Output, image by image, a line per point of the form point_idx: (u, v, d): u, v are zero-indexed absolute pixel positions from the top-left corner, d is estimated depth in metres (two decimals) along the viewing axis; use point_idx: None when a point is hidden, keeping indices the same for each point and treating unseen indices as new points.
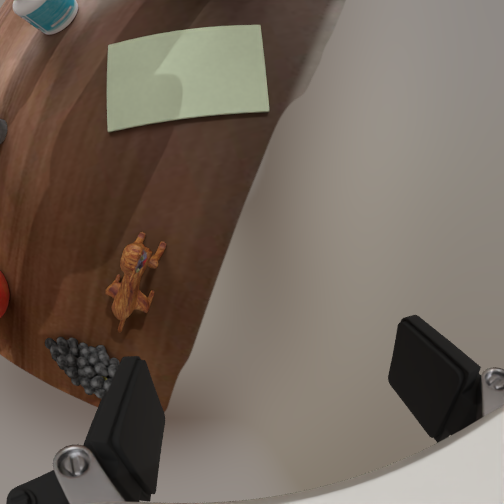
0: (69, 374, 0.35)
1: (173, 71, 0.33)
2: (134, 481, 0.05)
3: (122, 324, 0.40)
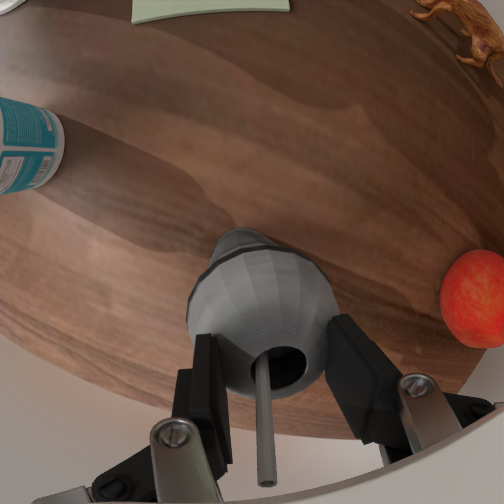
0: None
1: None
2: (220, 450, 0.07)
3: (497, 77, 0.21)
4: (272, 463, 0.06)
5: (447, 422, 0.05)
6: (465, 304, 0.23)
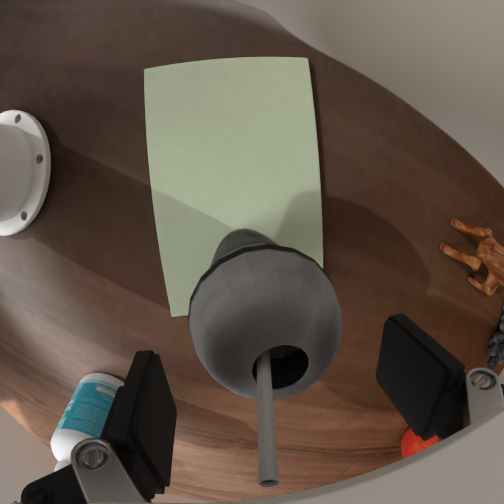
0: None
1: (237, 200, 0.23)
2: (149, 473, 0.06)
3: None
4: (273, 462, 0.06)
5: None
6: None
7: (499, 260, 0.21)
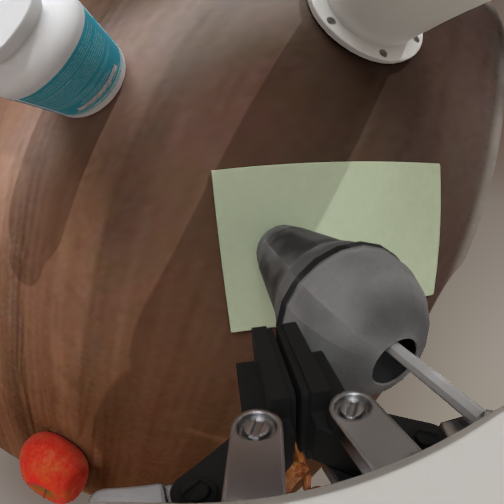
0: None
1: None
2: None
3: None
4: (470, 409, 0.05)
5: (397, 440, 0.05)
6: (38, 453, 0.23)
7: (288, 483, 0.24)
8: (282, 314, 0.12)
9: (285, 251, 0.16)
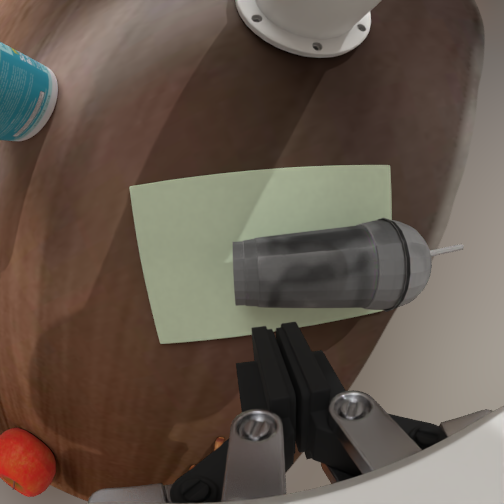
0: None
1: None
2: None
3: None
4: None
5: (397, 440, 0.05)
6: (8, 447, 0.22)
7: None
8: (409, 264, 0.18)
9: (340, 243, 0.19)
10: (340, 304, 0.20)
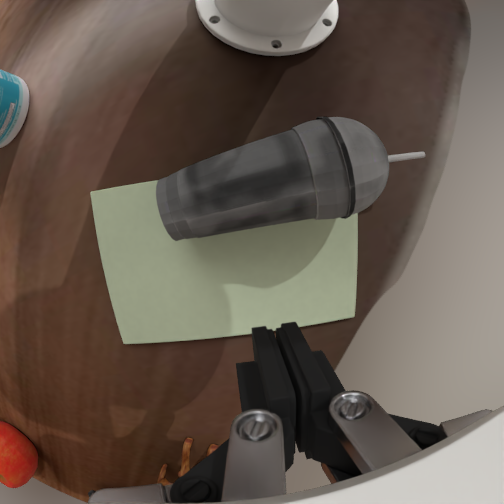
0: None
1: (214, 261, 0.23)
2: None
3: None
4: (419, 155, 0.19)
5: (397, 440, 0.05)
6: None
7: None
8: None
9: None
10: (260, 140, 0.18)
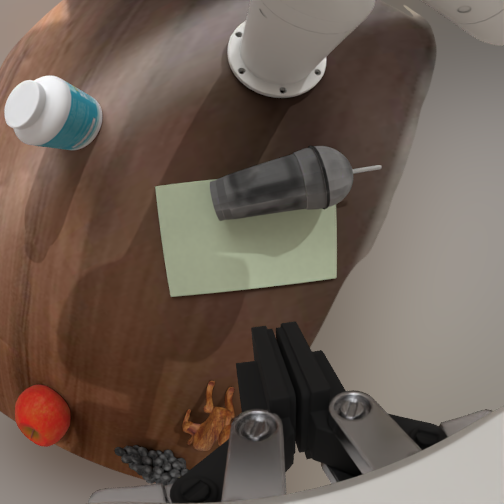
0: (146, 479, 0.37)
1: (240, 234, 0.36)
2: None
3: (192, 440, 0.42)
4: (377, 168, 0.32)
5: (397, 440, 0.05)
6: (31, 399, 0.33)
7: (216, 425, 0.34)
8: None
9: None
10: (274, 161, 0.30)
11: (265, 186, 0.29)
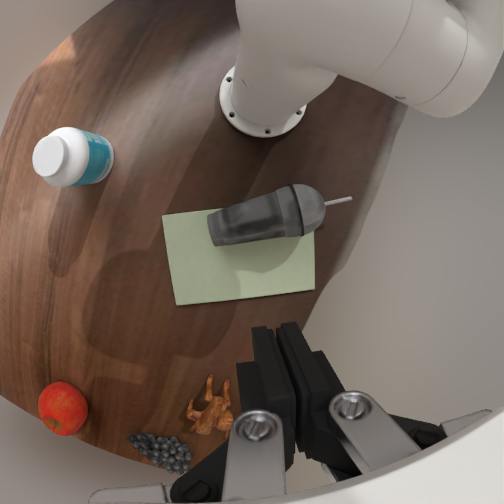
0: (154, 462, 0.46)
1: (233, 254, 0.43)
2: None
3: (194, 427, 0.50)
4: (348, 199, 0.39)
5: (397, 440, 0.05)
6: (54, 394, 0.41)
7: (215, 412, 0.42)
8: None
9: None
10: (259, 199, 0.37)
11: (251, 222, 0.37)
